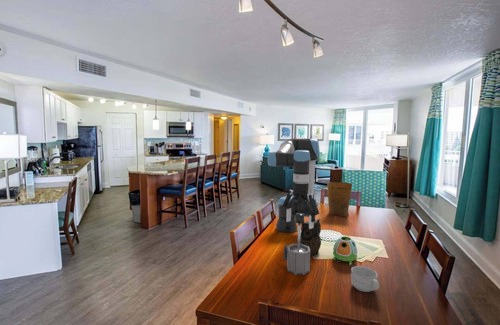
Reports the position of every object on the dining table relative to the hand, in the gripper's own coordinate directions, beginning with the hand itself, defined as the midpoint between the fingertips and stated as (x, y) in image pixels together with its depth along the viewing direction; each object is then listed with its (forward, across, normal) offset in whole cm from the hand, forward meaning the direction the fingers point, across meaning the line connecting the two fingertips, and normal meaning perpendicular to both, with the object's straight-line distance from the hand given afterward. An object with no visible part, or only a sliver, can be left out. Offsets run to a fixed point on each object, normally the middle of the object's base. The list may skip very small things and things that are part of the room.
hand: (299, 224), depth 135 cm
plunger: (+14, 0, 0) cm, 14 cm away
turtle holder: (+24, +10, +29) cm, 39 cm away
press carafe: (+23, -2, 0) cm, 23 cm away
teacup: (+24, +31, +7) cm, 40 cm away
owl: (+23, -8, +20) cm, 32 cm away
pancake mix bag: (+23, -32, +98) cm, 106 cm away
